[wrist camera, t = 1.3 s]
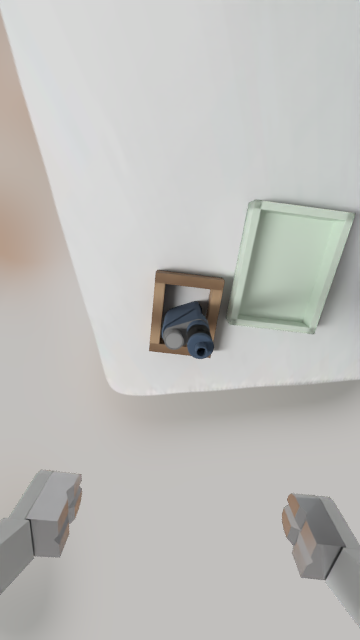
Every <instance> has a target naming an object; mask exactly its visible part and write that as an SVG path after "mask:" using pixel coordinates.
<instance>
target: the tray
mask: <svg viewBox="0 0 360 640" xmlns="http://www.w3.org/2000/svg"><path fill="white" fill-rule="evenodd" d="M355 214H356V213H350V212H343V211H336V210H328V209H321V208H313V207H306V206H298V205H291V204H284V203H276V202H269V201H261V200H254V201H252V202H250V203H249V204H248V209H247V214H246V220H245V225H244V230H243V235H242V240H241V245H240V250H239V255H238V260H237V265H236V270H235V275H234V280H233V285H232V290H231V295H230V300H229V305H228V310H227V315H226V319H227V321H228V323H229V324H230V325H238V326H247V327H256V328H264V329H273V330H281V331H290V332H298V333H307V334H314V333H315V330H316V327H317V324H318V321H319V319H320V316H321V313H322V310H323V307H324V304H325V301H326V298H327V295H328V292H329V290H330V287H331V284H332V281H333V278H334V275H335V272H336V269H337V266H338V263H339V260H340V258H341V255H342V252H343V249H344V246H345V243H346V240H347V237H348V234H349V231H350V229H351V226H352V223H353V220H354V217H355Z"/></svg>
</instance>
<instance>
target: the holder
mask: <svg viewBox="0 0 360 640" xmlns="http://www.w3.org/2000/svg"><path fill="white" fill-rule="evenodd" d="M224 282H225V281H224V280H223V279H222V278H217V277H209V276H201V275H193V274H185V273H177V272H169V271H161V270H157V271H156V276H155V288H154V300H153V312H152V323H151V335H150V347H149V351H153V352H162V353H171V354H180V355H189V356H191V355H190V353H189V352H188V348H187V344H186V345H183V346H182V347H181V348H179V349H177V350H171V349H169V348H168V347H166V345H165V342H164V340H163V338H160V336H161V326H162V316H163V306H164V296H165V286H166V284H172V285H180V286H188V287H196V288H205V289H210V295H209V301H208V307H207V313H206V319H207V320H208V324H209V328H210V333H211V337H212V340H213V341H214V335H215V330H216V324H217V319H218V314H219V308H220V303H221V298H222V292H223V287H224ZM210 357H211V355H210V356H208V357H207V358H210Z"/></svg>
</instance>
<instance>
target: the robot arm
mask: <svg viewBox="0 0 360 640" xmlns="http://www.w3.org/2000/svg"><path fill="white" fill-rule="evenodd" d="M81 477H82V476H81V474H76V473H67V472H59V471H50V470H40V471H39V472H38V473H37V474H36V475H35V477H34V478H33V480H32V481H31V483H30V484H29V486H28V488H27V489H26V491H25V492H24V494H23V495H22V497H21V499H20V500H19V502H18V503H17V505H16V507H15V508H14V510H13V511H12V513H11V514H10V516H9V518H3V519H1V520H0V595H1V594H2V592H3V591H4V590H5V589H6V588H7V587H8V586H9V585H10V584H11V583H12V582H13V581H14V579H15V578H16V577H17V576H18V575H19V574H20V573H21V572H22V571H23V569H25V567H26V566H27V565H28V564H29V563H30V562H31V561H32V560H33V559H34V556H40V557H60V556H61V553H62V551H63V548H64V545H65V543H66V541H67V538H68V535H69V524H70V523H71V522H72V521H73V520H74V519H75V518H76V514H77V512H78V509H79V506H80V502H81V497H82V488H81V487H80V483H81V481H82V478H81ZM287 501H288V503H289V504H288V505H287V506H285V507H284V509H283V512H282V524H283V528H284V531H285V534H286V537H287V539H288V540H289V541H290V542H291V543H292V545H293V551H292V554H293V557H294V560H295V563H296V565H297V568H298V571H299V574H300V576H301V578H310V579H318V580H326V581H325V583H326V584H327V585H328V587H329V588H330V589H331V591H332V592H333V593H334V595H335V596H336V597H337V599H338V600H339V601H340V603H341V604H342V605H343V607H344V608H345V609H346V611H347V612H348V613H349V615H350V616H351V617H352V618H353V620H354V621H355V622H356V623H357V625H358V626H359V628H360V545H359V543H358V541H357V539H356V538H355V536H354V534H353V533H352V531H351V529H350V528H349V526H348V524H347V523H346V521H345V519H344V518H343V516H342V514H341V513H340V511H339V509H338V508H337V506H336V504H335V503H334V501H333V500H332V499H331V498H330V497H325V496H315V495H303V494H290V495H289V496H288V498H287Z"/></svg>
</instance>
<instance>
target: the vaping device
mask: <svg viewBox="0 0 360 640" xmlns="http://www.w3.org/2000/svg"><path fill="white" fill-rule="evenodd" d="M162 338H163V340H164V342H165V345H166V347H168V348H169V349H171V350H177V349H179V348H181V347H182V346H183V345H186V344H187V348H188V352H189V353H190V355H191V356H193V357H194V358H197V359H203V358H206V357H208V356H210V355H211V353H212V352H213V349H214V344H213V340H212V337H211V333H210V328H209V324H208V320H207V319H206V318H205V316H204V315H203V314H202V308H201V306H200V304H199V303H198V302H197V301H194V302H191V303H187V304H184V305H181V306H177V307H174V308H171V309H170V310H168V311H167V312H166V315H165V319H164V323H163V328H162Z"/></svg>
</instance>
